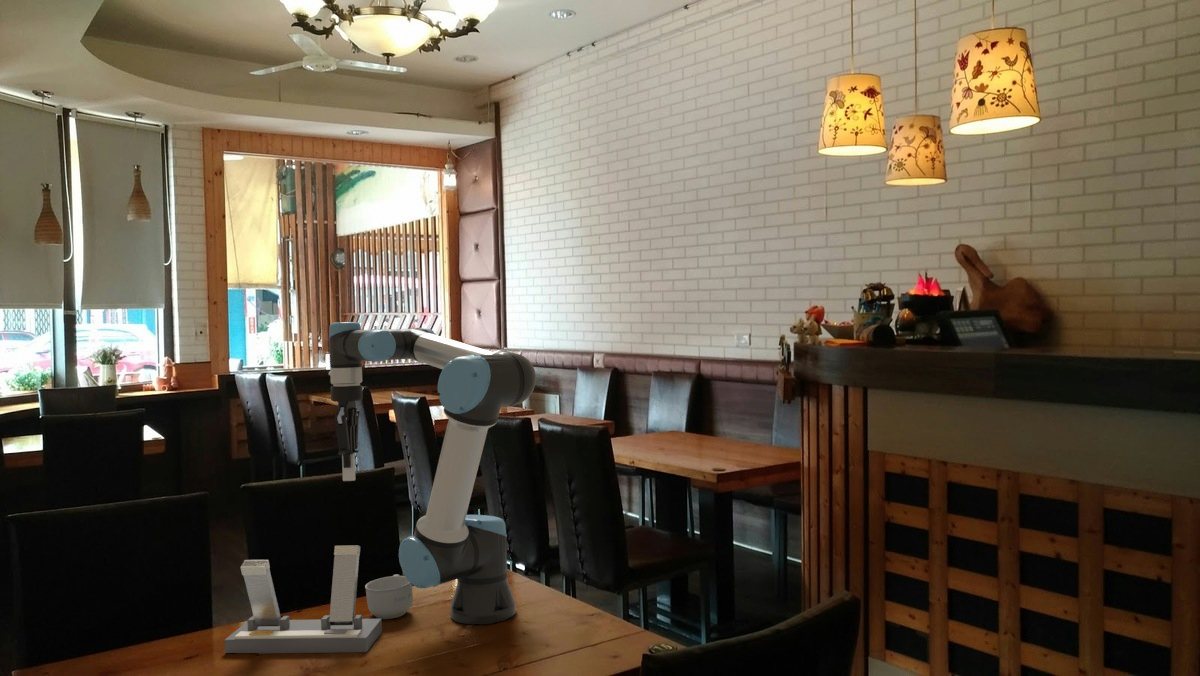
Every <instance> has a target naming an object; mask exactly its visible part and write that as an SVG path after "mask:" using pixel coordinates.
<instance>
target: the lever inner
mask: <svg viewBox="0 0 1200 676" xmlns="http://www.w3.org/2000/svg"><path fill="white" fill-rule="evenodd" d="M333 551H334V552H333V555H334V558H333V569H332V571H333V572H332V584H331V595H330V596H331V597H330V604H329V605H330V608H329V615H330V618H329V622H330V625H331V626H336V625H353V618H354V617H355V616H356V615H355V614H356V603H357V592H358V589H357V588H358V577H359V575H358V574H359V565H360V564H359V563H360V561H359V560H360V555H361V554H360V553H361V546H360V545H357V544H356V545H334V550H333Z"/></svg>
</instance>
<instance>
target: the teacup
mask: <svg viewBox="0 0 1200 676" xmlns="http://www.w3.org/2000/svg"><path fill="white" fill-rule="evenodd" d="M364 588H365V594H366V595H365V596H366V604H367V608H368V611H369V612H370V614H371V615H373V616H375V617H376V619H382V620H390V619H396V618H400V617H401V616H404V615H405V614H406V613H407V612H408V611H409V610H410V608H412V606H413V599H414V597H413V584H411V583H410V582H409V581H408V579H407V578H406V576H405V575H400V574H393V575H392V576H391V575H390V576H384V577H380V578H377V579H374V580H371V581H369V582H367V583H366V584H365V585H364Z"/></svg>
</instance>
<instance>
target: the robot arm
mask: <svg viewBox="0 0 1200 676" xmlns="http://www.w3.org/2000/svg"><path fill="white" fill-rule="evenodd" d="M328 330H329V332H328V333H329V335H328V348H329V351H328V352H329V365H330V366H329V368H330V369H329V370H330V371H328V376H330V384H331V387H330V400H331V401H332V402H335V403H336V402H337V403H338V405H337V406H338V407H337V409H336V415H334V417H333V419H334V422H335V423H334V424H335V427H336V428H335V429H336V437H337V445H338V446H337V448H338V452H337V454H338V455H339V456H341V462H342V463H341V465H342V466H341V467H342V481H343V482H352V481H353V482H354V481H356V455H355V454H357V453H359V449H358V445H359V444H358V443H359V442H358V441H359V422H360V421H359V419H360V415H361V411H360V410H358V407H357V404H356V402H359V401H362V400H363V386H362V384H361V383H362V382H363V367H362V362H372V363H376V362H378V363H380V362H386V361H396V360H397V361H398V360H413V361H416V362H418V363H423V364H425V365H428V366H431V367H435V368H438V369H440V370H441V372H440V374H439V378H438V381H437V393H438V394H439V396H438V400H439V401H440V403H441V406H442V407H443V413H444V415H445V416H446V418H447V419H448V422H447V425H446V430H445V434H444V438H443V442H442V445H441V450H440V455H439V459H438V463H437V467H436V471H435V475H434V479H433V484H432V489H431V493H430V497H429V500H428V504H427V509H426V513H425V515H423V516H421V517H420V518H419V519H418V520H417V521H416V524H415V528H414V534H413V535H412V536H411V535H408V536H407V537H406V538H404V539H402V541H401V542H400V544H399V547H398V548H399V549H398V558H399V559H398V561H399V565H400V567H401V570H402V572H403V574H404V575H403V576H406V578H407V579H408V581H409V582H410V583H411V584H412V586H413V587H416V588H417V589H427V588H436V587H438V586H439V585H442V584H445V583H446V584H447V583H449V582H451V581H455V580H456V581H457V583H456V586H455V590H454V595H453V597H452V600H451V603H450V619H452V620H453V621H454V622H457V623H460V624H463V625H464V624H466V625H475V624H479V625H489V624H490V625H491V624H496V623H495V622H497V623H500V621H501V622H504V621H507V620H508V618H509V619H511V618H513V617H514V616H515V615H514V614H516V612H517V611H516V610H517V609H516V601H515V599H514V595H513V592H512V589H511V587H510V583H509V581H508V551H507V550H508V548H507V547H508V546H507V545H508V543H507V542H508V541H507V537H508V535H507V527H506V526H507V525H506V522H505V521H504V519H503V518H501V517H498V516H494V515H487V514H486V515H485V514H484V515H483V514H468V509H469V506H470V505H469V504H470V502H471V498H472V493H473V490H474V485H475V482H476V478H477V473H478V470H479V466H480V462H481V458H482V454H483V450H484V446H485V442H486V439H487V435H488V430H489V429H490V428H491V427H493V426H495V425H496V424H497V423H498V419H499V416H500V412H501V409H502V408H508V407H513V406H517V405H519V404H522V403H523V402H525V401H526V400H528V398H530V396H531V395H532V393H533V392H534V389H535V387H536V383H537V374H536V371H535V368H534V365H533V364H532V362H531V361H530V360H529V359H528V358H527V357H525V356H524V355H522V354H519V353H516V352H511V351H508V350H503V349H500V350H495V351H492V350H489V349H484V348H481V347H478V346H474V345H471V344H468V343H464V342H461V341H459V340H454V339H450V338H447V337H444V336H441V335H437V334H436V333H435V332H434V330H432V329H431V328H424V327H415V328H389V329H387V328H386V329H380V328H378V329H377V328H376V329H375V328H371V329H362V328H361V323H359V322H357V321H350V322H349V321H347V322H346V321H342V322H332V323H331V324H330V325H329V329H328ZM513 615H514V616H513ZM510 617H511V618H510ZM506 619H507V620H506Z"/></svg>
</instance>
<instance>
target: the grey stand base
mask: <svg viewBox="0 0 1200 676" xmlns="http://www.w3.org/2000/svg"><path fill="white" fill-rule="evenodd" d="M329 618H330V614H329V615H328V614H327V615H326V614H325V615H323V616H322V618H321V619H290V615H283V616H282V617H281V619H280V626H261V627H258V626H257V625H256V624H255V620H254V616H253V615H252V616H250V617H249V618H247V621H246V622H245V623H243V624H242V625H241V626H240V627H238V628H237V629H236V630H234V632H232V633H231V634H229V636H227V637H226V638H225V639H224V654H225V653H258V654H312V653H313V654H315V653H316V654H323V653H324V654H325V653H326V654H327V653H328V654H329V653H367V652H368V651H369V650H370V648H371V646H372V645H374V643H375V642H376V640H377V639H378V638H379V636H380V635H381V634H382V633H383V623H382V620H383V619H379V618H363V614H356V615H355V617H354V618H353V625H336V626H331V625H330V622H329Z"/></svg>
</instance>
